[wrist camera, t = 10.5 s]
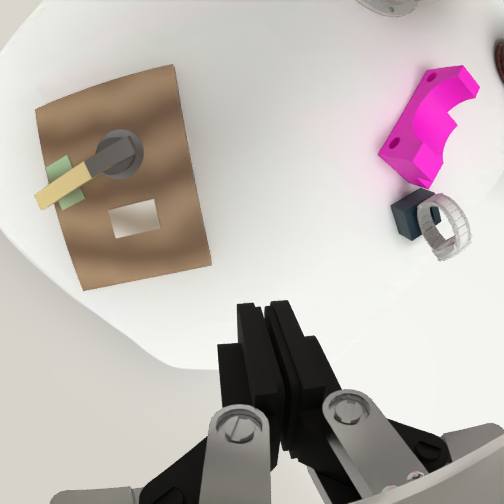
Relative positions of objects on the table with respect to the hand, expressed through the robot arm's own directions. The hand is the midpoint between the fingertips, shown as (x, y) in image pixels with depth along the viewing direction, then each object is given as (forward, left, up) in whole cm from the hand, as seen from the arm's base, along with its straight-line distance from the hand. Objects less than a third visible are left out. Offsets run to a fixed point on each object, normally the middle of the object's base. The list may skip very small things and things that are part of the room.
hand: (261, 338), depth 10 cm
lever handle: (-7, -9, -24) cm, 26 cm away
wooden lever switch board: (-4, -10, -26) cm, 28 cm away
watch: (+6, +25, -26) cm, 36 cm away
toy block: (-5, +27, -26) cm, 38 cm away
